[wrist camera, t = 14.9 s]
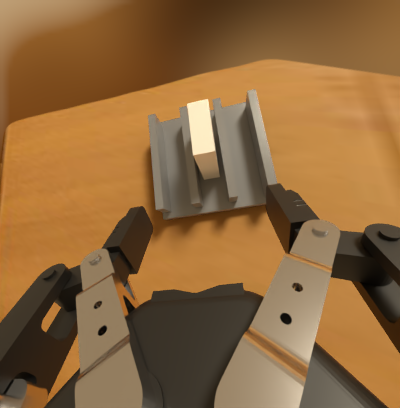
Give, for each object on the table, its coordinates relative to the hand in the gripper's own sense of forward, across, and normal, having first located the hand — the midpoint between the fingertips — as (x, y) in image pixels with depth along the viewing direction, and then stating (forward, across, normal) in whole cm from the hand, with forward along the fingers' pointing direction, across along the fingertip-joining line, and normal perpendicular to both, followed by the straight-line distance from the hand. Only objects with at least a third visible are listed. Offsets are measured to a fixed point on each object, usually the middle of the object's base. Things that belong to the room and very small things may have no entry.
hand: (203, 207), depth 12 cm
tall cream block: (+20, 0, +4) cm, 20 cm away
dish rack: (+21, 0, +5) cm, 21 cm away
